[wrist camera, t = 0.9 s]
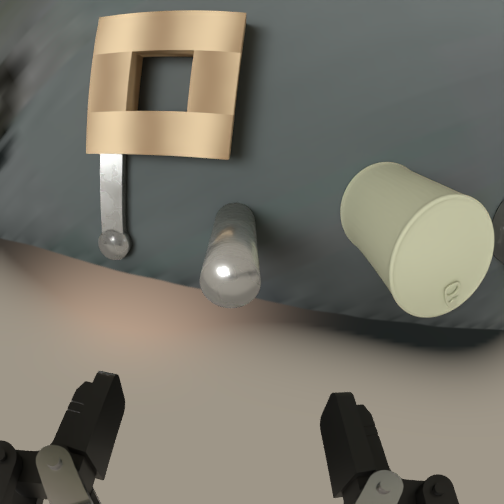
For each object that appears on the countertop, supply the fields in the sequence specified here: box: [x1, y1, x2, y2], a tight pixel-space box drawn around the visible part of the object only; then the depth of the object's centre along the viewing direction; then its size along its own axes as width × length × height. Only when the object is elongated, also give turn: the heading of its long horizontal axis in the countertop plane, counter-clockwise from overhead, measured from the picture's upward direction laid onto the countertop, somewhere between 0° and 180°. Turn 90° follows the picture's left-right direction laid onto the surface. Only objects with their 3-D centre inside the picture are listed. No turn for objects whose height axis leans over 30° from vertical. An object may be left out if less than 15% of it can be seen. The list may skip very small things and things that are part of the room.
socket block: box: [86, 11, 246, 160], centre depth 22 cm, size 12×12×3 cm
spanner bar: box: [99, 154, 131, 260], centre depth 27 cm, size 11×3×1 cm, turn 174°
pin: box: [200, 203, 261, 308], centre depth 24 cm, size 4×4×11 cm
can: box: [340, 162, 494, 317], centre depth 23 cm, size 9×9×12 cm
